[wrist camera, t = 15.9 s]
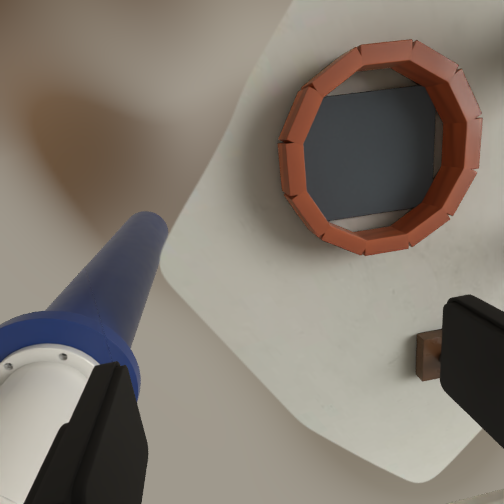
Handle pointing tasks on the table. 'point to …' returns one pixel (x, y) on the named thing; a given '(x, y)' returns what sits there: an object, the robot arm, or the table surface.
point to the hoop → (453, 144)
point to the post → (428, 355)
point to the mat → (370, 152)
